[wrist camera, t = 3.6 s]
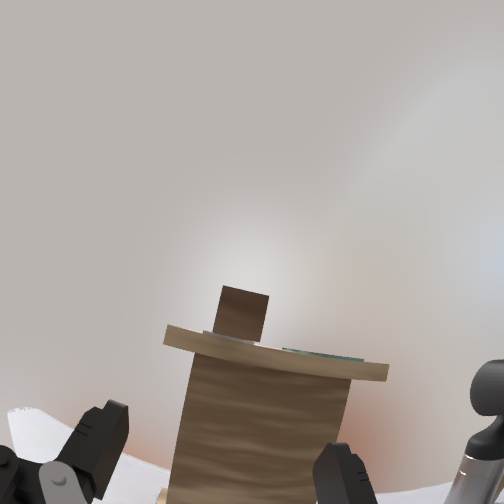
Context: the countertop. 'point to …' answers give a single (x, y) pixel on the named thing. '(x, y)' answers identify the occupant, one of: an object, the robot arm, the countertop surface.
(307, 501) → the oak lectern
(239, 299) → the walnut bar
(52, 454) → the countertop surface
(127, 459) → the countertop surface
